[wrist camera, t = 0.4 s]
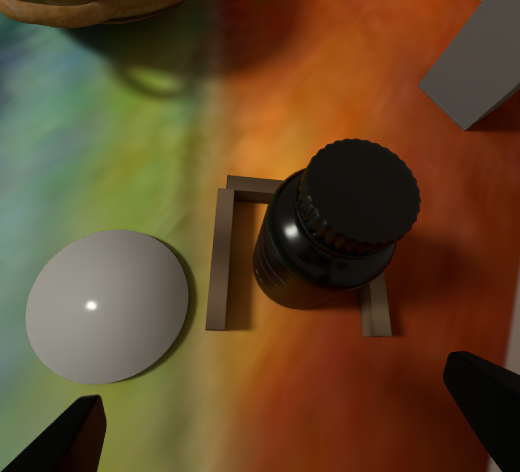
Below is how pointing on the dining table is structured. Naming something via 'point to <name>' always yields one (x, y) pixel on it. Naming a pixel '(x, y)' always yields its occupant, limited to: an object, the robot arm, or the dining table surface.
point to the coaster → (107, 307)
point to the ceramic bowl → (83, 11)
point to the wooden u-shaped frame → (236, 190)
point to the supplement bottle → (334, 224)
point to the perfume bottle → (478, 64)
